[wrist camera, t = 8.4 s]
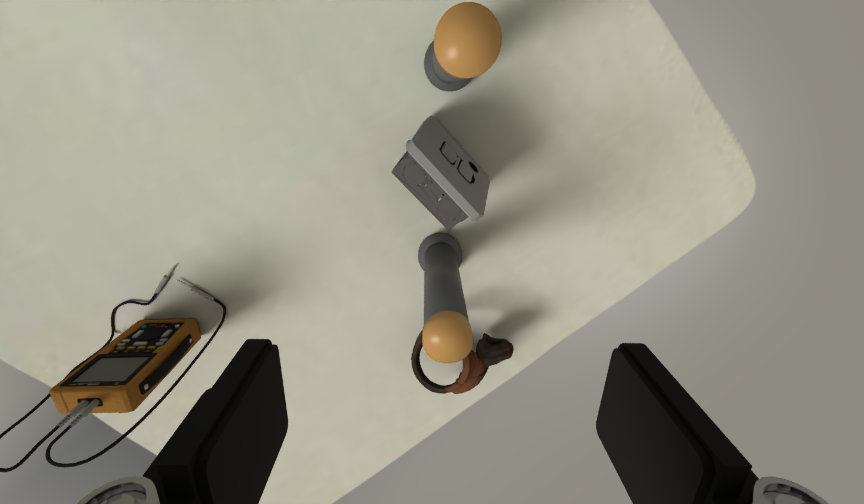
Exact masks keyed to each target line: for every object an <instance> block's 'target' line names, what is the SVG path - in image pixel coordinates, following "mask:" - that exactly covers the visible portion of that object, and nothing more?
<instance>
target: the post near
mask: <svg viewBox="0 0 864 504" xmlns="http://www.w3.org/2000/svg"><path fill="white" fill-rule="evenodd" d="M501 39H502V37H501V30H500V26H499V23H498V21H497V19H496V17H495V16H494V14H493V13H492V12H491V11H490V10H489V9H488V8H486V7H485V6H483V5H481V4H478V3H474V2H464V3H460V4H457V5H455V6H453V7H451V8H450V9H449V10H447V11H446V12H445V13H444V15H443V16H442V17H441V19H440V20H439V22H438V24H437V27H436V31H435V35H434V41H433V42H432V43H431V44H430V46H429V47H428V49H427V52H426V54H425V61H424V66H425V72H426V75H427V77H428V79H429V80H430V82H431V83H432V84H433V85H434V86H435V87H437V88H438V89H440V90H443V91H456V90H459V89H461V88H463V87H465V86H466V85H467V84H468V83H469V82H470V81H471V79H472V78H473V77H476V76H478V75H480V74H482V73H484V72H486V71H487V70H488V69H489V68H490V67H491V66H492V65H493V63H494V62H495V61H496V59H497V57H498V54H499V52H500V48H501Z"/></svg>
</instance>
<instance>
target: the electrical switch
mask: <svg viewBox="0 0 864 504" xmlns="http://www.w3.org/2000/svg"><path fill="white" fill-rule="evenodd" d="M406 150H407V152H406V153H405V154H404V155H403V157H402V158H401V159H400V161H399V162H398V163H397V165H396V166H395V167H394V169H393V170H392V173H393V174H394V175H395V176H396V177H397V178H398V179H399V180H400V181H401V182H402V183H403V185H404V186H405V187H406V188H407V189H408V190H409V191H410V192H411V193H412V194H413V195H414V196H415V197H416V198H417V199H418V200H419V201H420V202H421V203H422V204H423V205H424V206H425V207H426V208H427V209H428V210H429V211H430V212H431V213H432V214H433V215H434V216H435V217H436V218H437V219H438V220H439V221H440V222H441V223H442V224H443V226H444V227H445V228H446V229H447V230H450V229H451V228H452V227H454V226H455V225H456V224H457V223H459V222H462V221H463V220H465V219H466V218H467V217H470V218H471V219H472V220H473V221H477V220H479V219H480V218H481V217H482V216H483V215H484V210H485V205H486V199H487V194H488V189H489V183H490V181H489V179H488V177H487V175H486V174H485V173H484V172H483V171H482V170H481V169H480V167H479V166H478V165H477V164H476V163H475V162H474V161H473V160H472V158H471V157H470V156H469V155H468V154H467V153H466V152H465V151H464V149H463V148H462V147H461V146H460V145H459V144H458V143H457V142H456V140H455V139H454V138H453V137H452V136H451V135H450V134H449V133H448V131H447V130H446V129H445V128H444V127H443V126H442V125H441V124H440V122H439V121H438V120H437V119H436V118H435V117H433V116H430V117H428V118H427V119H426V120H425V121H424V122H423V124H422V125H421V127H420V128H419V130H418V131H417V132H416V134H415V135H414V137H413V138H412V140H409V141H408V142H407V143H406ZM403 170H404V171H403ZM406 181H407V183H406ZM430 181H431V182H430ZM420 184H421V185H420ZM426 184H427V185H426ZM419 185H420V186H419ZM425 185H426V186H425ZM442 193H443V194H442ZM441 197H442V199H441V200H440V201H439V202H438V199H439V198H441ZM437 210H438V211H437ZM443 219H445V220H443Z"/></svg>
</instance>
